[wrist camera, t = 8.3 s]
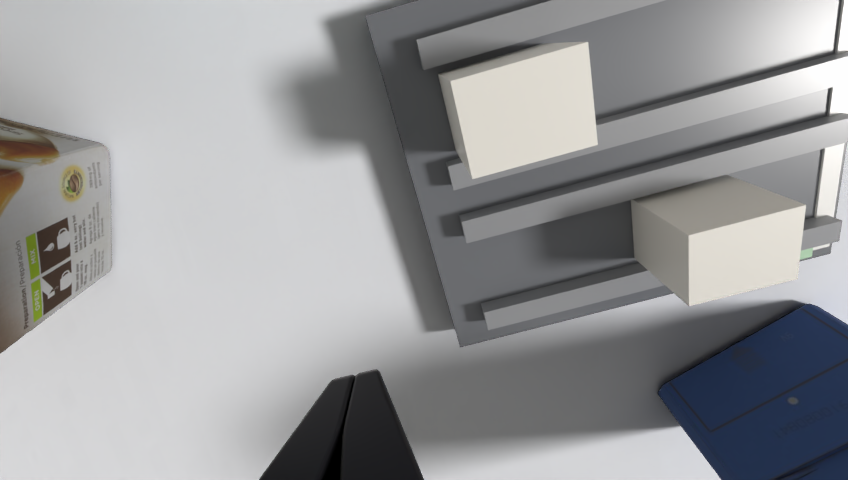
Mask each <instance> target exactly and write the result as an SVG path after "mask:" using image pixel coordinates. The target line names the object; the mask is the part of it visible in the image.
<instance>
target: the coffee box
mask: <svg viewBox="0 0 848 480" xmlns="http://www.w3.org/2000/svg"><path fill="white" fill-rule="evenodd" d="M111 267H112V243H111V183H110V153H109V150H108V149H107V147H105V146H104V145H103V144H101V143H97V142H94V141H89V140H85V139H81V138H77V137H73V136H70V135H66V134H62V133H58V132H54V131H50V130H46V129H42V128H38V127H34V126H30V125H26V124H22V123H18V122H14V121H10V120H6V119H2V118H0V353H2V352H3V351H4V350H6V349H7V348H8V347H9V346H11V345H12V344H13V343H15V342H16V341H18V340H19V339H20V338H21V337H22V336H24V335H25V334H26V333H28V332H29V331H31V330H32V329H34V328H35V327H36V326H37V325H39V324H40V323H41V322H43V321H44V320H45V319H47V318H48V317H49V316H51V315H52V314H53V313H55V312H56V311H57V310H59V309H60V308H61V307H63V306H64V305H65V304H67V303H68V302H69V301H71V300H72V299H73V298H75V297H76V296H77V295H79V294H80V293H81V292H83V291H84V290H85V289H87V288H88V287H89V286H91V285H92V284H93V283H95V282H96V281H97V280H99V279H100V278H101V277H103V276H104V275H106V274H107V273H108V272H109V271H110V270H111Z"/></svg>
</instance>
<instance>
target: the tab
mask: <svg viewBox="0 0 848 480" xmlns="http://www.w3.org/2000/svg"><path fill="white" fill-rule="evenodd" d="M805 211H806V205H805V204H802V203H800V202H797V201H795V200H792V199H789V198H787V197H784V196H781V195H779V194H776V193H774V192H771V191H768V190H766V189H763V188H760V187H758V186H755V185H753V184H750V183H747V182H745V181H742V180H739V179H737V178H734V177H731V176H729V175H722V176H719V177H715V178H711V179H707V180H703V181H700V182H696V183H692V184H688V185H685V186H681V187H677V188H673V189H670V190H666V191H662V192H658V193H655V194H651V195H647V196H643V197H640V198H636V199H632V200H631V212H632V227H633V242H634V258H635V259H636V260H637V261H638V262H639V263H640V264H641V265H643V266H644V267H645V268H646V269H647V270H648V271H649V272H651V273H652V274H653V275H654V276H655V277H656V278H657V279H658V280H660V281H661V282H662V283H663V284H664V285H665V286H666V287H668V288H669V289H670V290H671V291H672V292H673V293H674V294H676V295H677V296H678V297H679V298H680V299H681V300H682V301H684V302H685V303H686V304H687V305H688V306H692V305H696V304H700V303H704V302H708V301H712V300H716V299H720V298H724V297H728V296H732V295H736V294H740V293H744V292H748V291H752V290H756V289H760V288H764V287H768V286H772V285H776V284H780V283H784V282H788V281H792V280H796V279H798V270H799V262H800V253H801V245H802V236H803V228H804V219H805Z"/></svg>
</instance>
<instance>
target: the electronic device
mask: <svg viewBox="0 0 848 480" xmlns="http://www.w3.org/2000/svg"><path fill="white" fill-rule="evenodd" d="M658 395H659V396H660V398H661V399H662V400H663V402H664V403H665V405H666V406H667V407H668V409H669V410H670V412H671V413H672V414H673V416H674V417H675V418H676V420H677V421H678V423H679V424H680V425H681V427H682V428H683V429H684V431H685V432H686V433H687V435H688V436H689V437H690V439H691V440H692V441H693V443H694V444H695V445H696V447H697V448H698V449H699V450H700V452H701V453H702V454H703V456H704V457H705V458H706V460H707V461H708V462H709V464H710V465H711V466H712V468H713V469H714V470H715V472H716V473H717V474H718V476H719V477H720V478H721V480H848V325H847V324H846V323H844V322H842V321H841V320H839V319H838V318H836V317H834V316H833V315H831V314H829V313H828V312H826V311H824V310H823V309H821V308H820V307H818V306H815V305H812V304H806V305H804V306H802V307H800V308H799V309H797V310H795V311H793V312H791V313H790V314H788V315H786V316H784V317H783V318H781V319H779V320H777V321H775V322H774V323H772V324H770V325H768V326H767V327H765V328H763V329H761V330H760V331H758V332H756V333H754V334H752V335H751V336H749V337H747V338H745V339H744V340H742V341H740V342H738V343H736V344H735V345H733V346H731V347H729V348H728V349H726V350H724V351H722V352H721V353H719V354H717V355H715V356H713V357H712V358H710V359H708V360H706V361H705V362H703V363H701V364H699V365H697V366H696V367H694V368H692V369H690V370H689V371H687V372H685V373H683V374H681V375H680V376H678V377H676V378H674V379H673V380H671V381H669V382H667V383H666V384H664V385H663V386H662V387H661V389H660V391H658Z"/></svg>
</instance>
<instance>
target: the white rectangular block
mask: <svg viewBox="0 0 848 480" xmlns="http://www.w3.org/2000/svg"><path fill="white" fill-rule="evenodd" d="M438 77H439V81H440V85H441V89H442V94H443V98H444V102H445V106H446V111H447V115H448V119H449V123H450V128H451V132H452V136H453V140H454V145H455V149H456V152H457V154H458V156H459V157H460V159H461V161H462V162H463V164H464V166H465V168H466V169H467V171H468V173H469V174H470V176H471V178H472V179H475V178H479V177H483V176H486V175H490V174H494V173H497V172H501V171H505V170H508V169H512V168H516V167H519V166H523V165H527V164H530V163H534V162H538V161H541V160H545V159H548V158H552V157H556V156H559V155H563V154H567V153H570V152H574V151H578V150H581V149H585V148H589V147H592V146H596V145H598V141H597V130H596V120H595V109H594V98H593V88H592V77H591V67H590V56H589V45H588V42H567V43H543V44H540V45H536V46H533V47H529V48H526V49H522V50H519V51H515V52H512V53H508V54H505V55H501V56H498V57H494V58H491V59H488V60H484V61H481V62H477V63H474V64H470V65H467V66H463V67H460V68H456V69H453V70H449V71H446V72H442V73H439V74H438Z"/></svg>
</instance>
